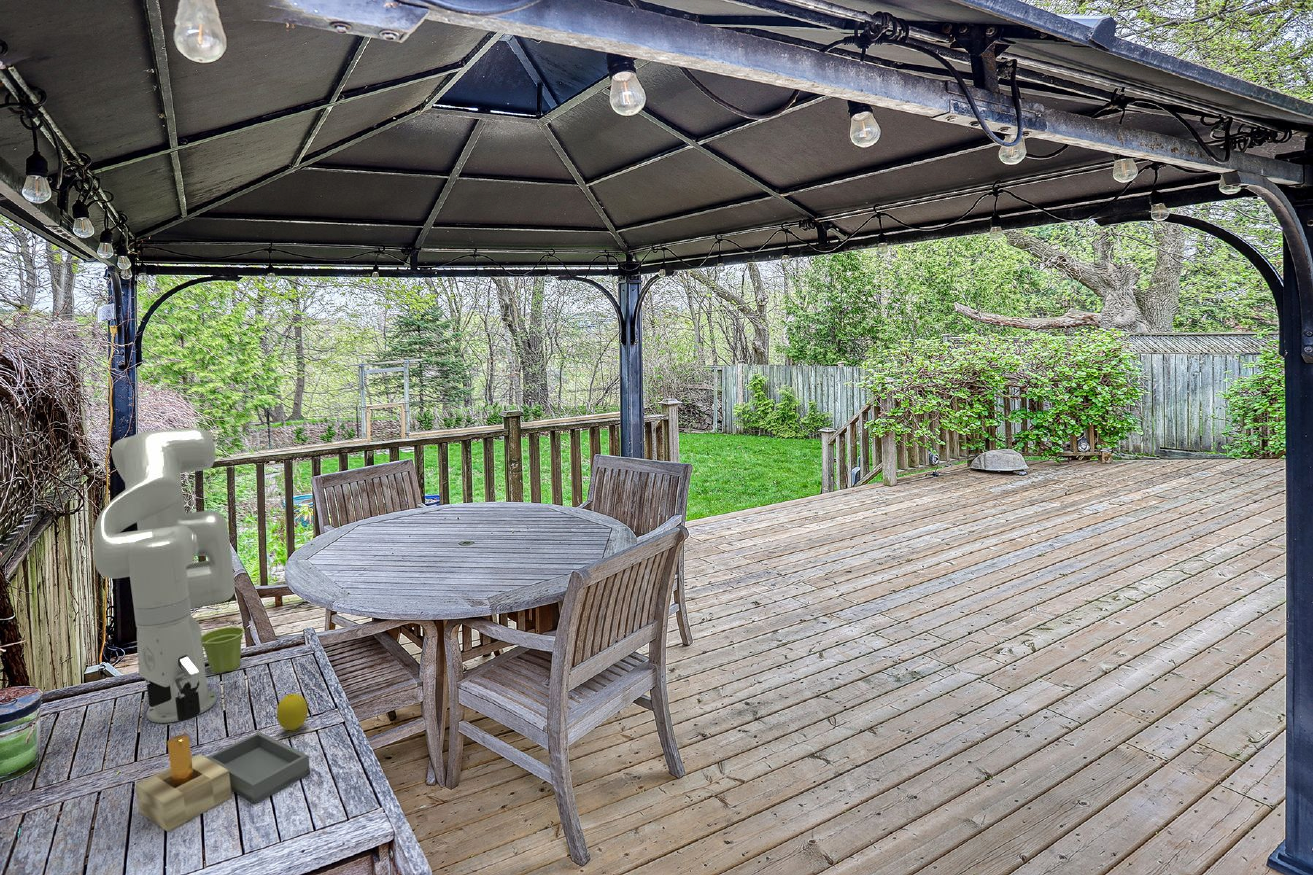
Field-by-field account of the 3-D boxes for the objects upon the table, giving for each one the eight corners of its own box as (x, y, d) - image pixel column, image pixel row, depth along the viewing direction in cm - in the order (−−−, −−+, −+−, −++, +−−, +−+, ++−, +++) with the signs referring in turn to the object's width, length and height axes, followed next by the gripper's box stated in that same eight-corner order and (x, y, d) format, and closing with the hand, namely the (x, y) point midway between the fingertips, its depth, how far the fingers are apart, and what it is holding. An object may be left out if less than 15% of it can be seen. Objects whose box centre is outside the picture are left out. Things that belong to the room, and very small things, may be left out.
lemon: (296, 739, 139) (293, 701, 138) (272, 736, 140) (268, 699, 139) (315, 724, 144) (312, 688, 143) (291, 722, 145) (288, 685, 144)
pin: (171, 806, 119) (164, 740, 117) (191, 796, 122) (183, 732, 120) (180, 812, 117) (172, 745, 116) (199, 801, 120) (192, 737, 118)
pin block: (138, 811, 118) (135, 783, 117) (202, 779, 126) (199, 753, 126) (167, 831, 113) (164, 803, 112) (231, 797, 121) (228, 770, 120)
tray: (206, 775, 127) (204, 757, 127) (261, 748, 136) (259, 731, 135) (255, 804, 119) (253, 785, 119) (310, 773, 128) (308, 755, 127)
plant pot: (227, 678, 165) (223, 643, 164) (193, 675, 167) (189, 641, 166) (256, 660, 174) (253, 627, 173) (223, 658, 176) (220, 625, 175)
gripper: (112, 610, 116) (125, 707, 118) (163, 628, 107) (175, 733, 109) (163, 596, 122) (174, 689, 124) (214, 612, 113) (225, 712, 115)
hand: (174, 709), depth 117 cm, fingers open, 9 cm apart
